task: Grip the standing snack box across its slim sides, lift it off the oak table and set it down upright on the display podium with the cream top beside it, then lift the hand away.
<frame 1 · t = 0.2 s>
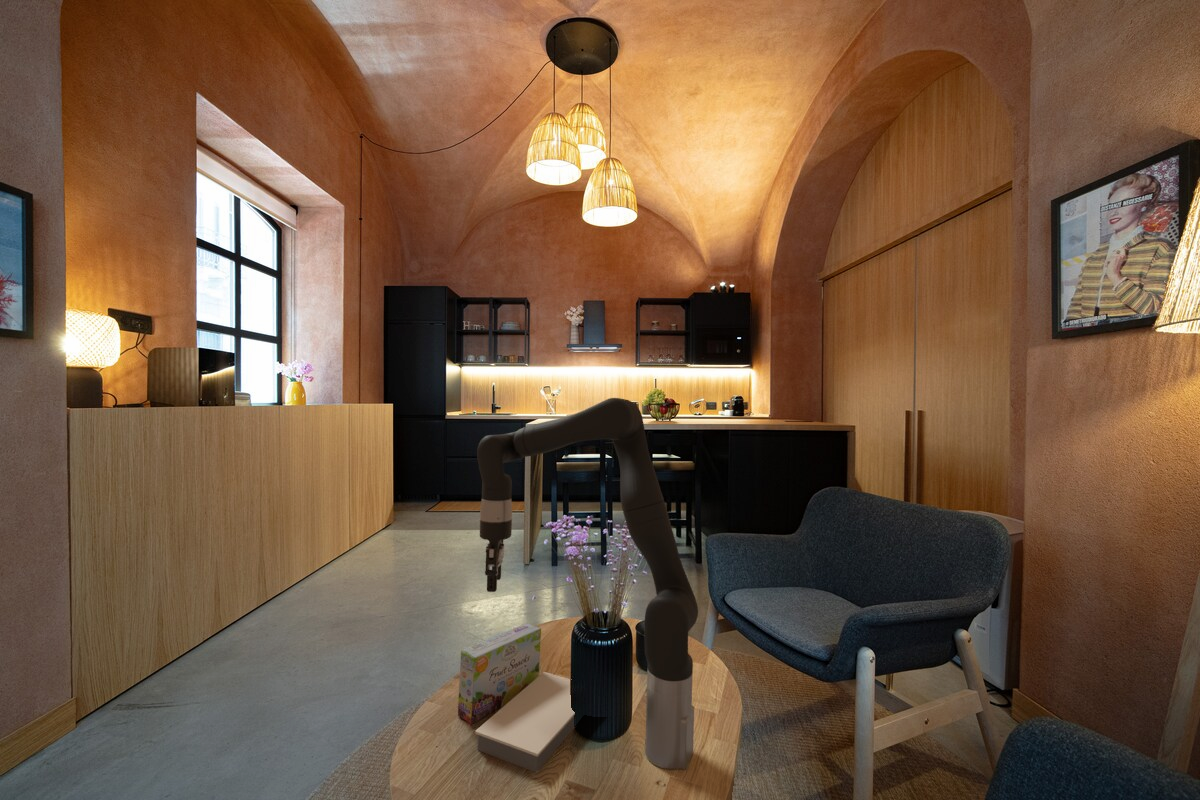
hand: (494, 585, 125), 27 cm above the table, tool pointing down, fingers open, 8 cm apart
display podium: (540, 725, 115), on the table
snack box: (500, 701, 124), on the table
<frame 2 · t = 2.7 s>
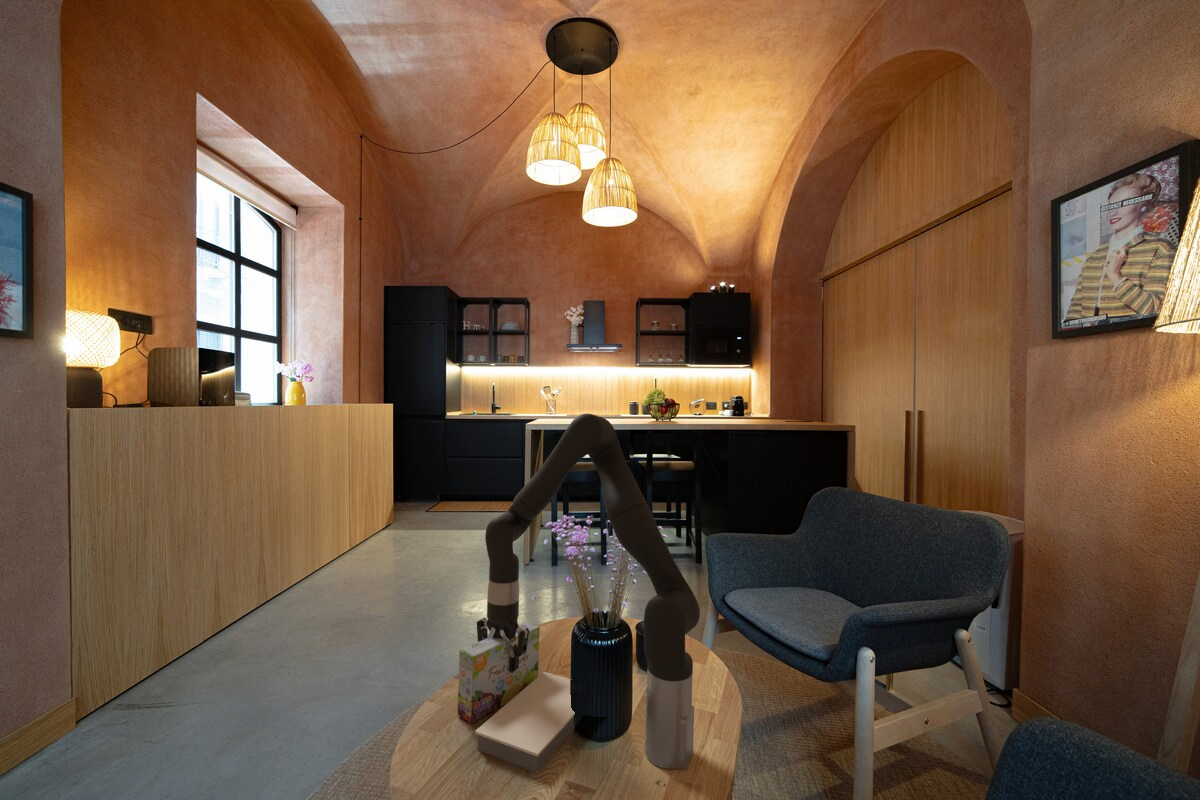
hand: (501, 667, 125), 8 cm above the table, tool pointing down, fingers closed on snack box, 6 cm apart
snack box: (500, 701, 124), on the table, touching gripper
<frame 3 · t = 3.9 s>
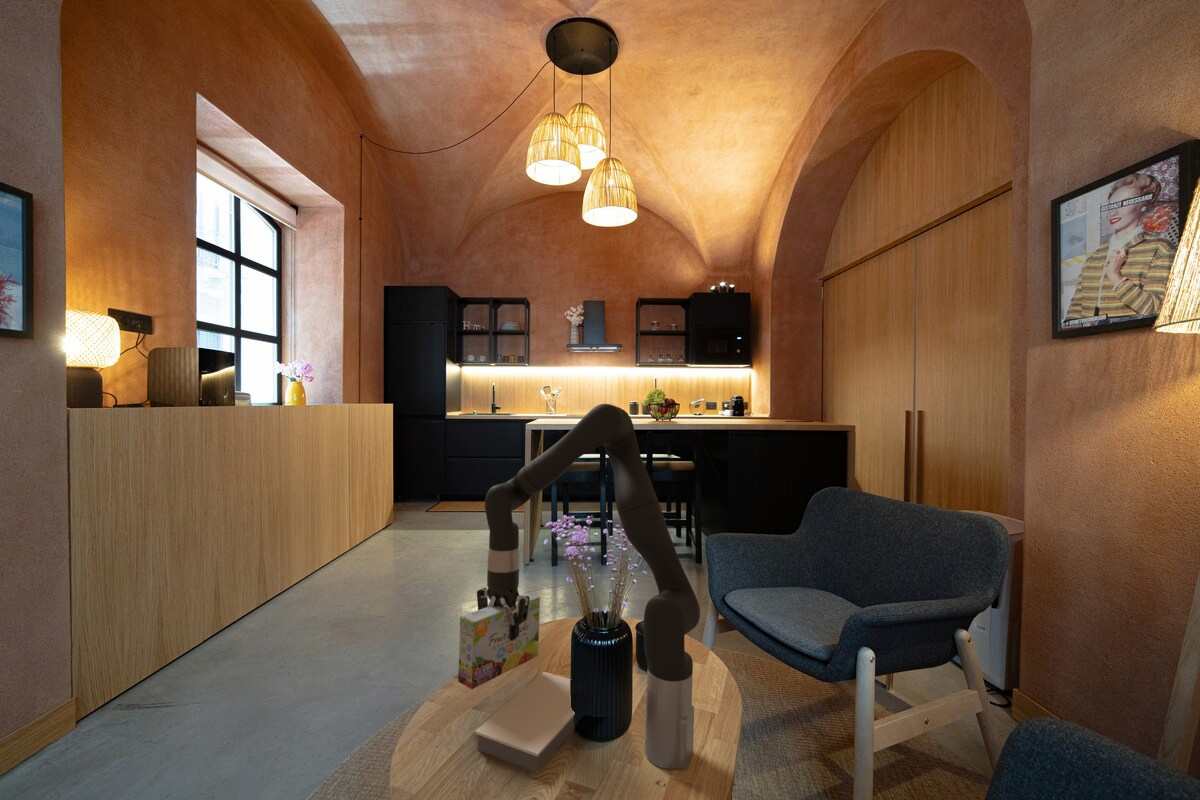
hand: (501, 636, 125), 15 cm above the table, tool pointing down, fingers closed on snack box, 6 cm apart
snack box: (501, 669, 124), point 7 cm above the table, touching gripper
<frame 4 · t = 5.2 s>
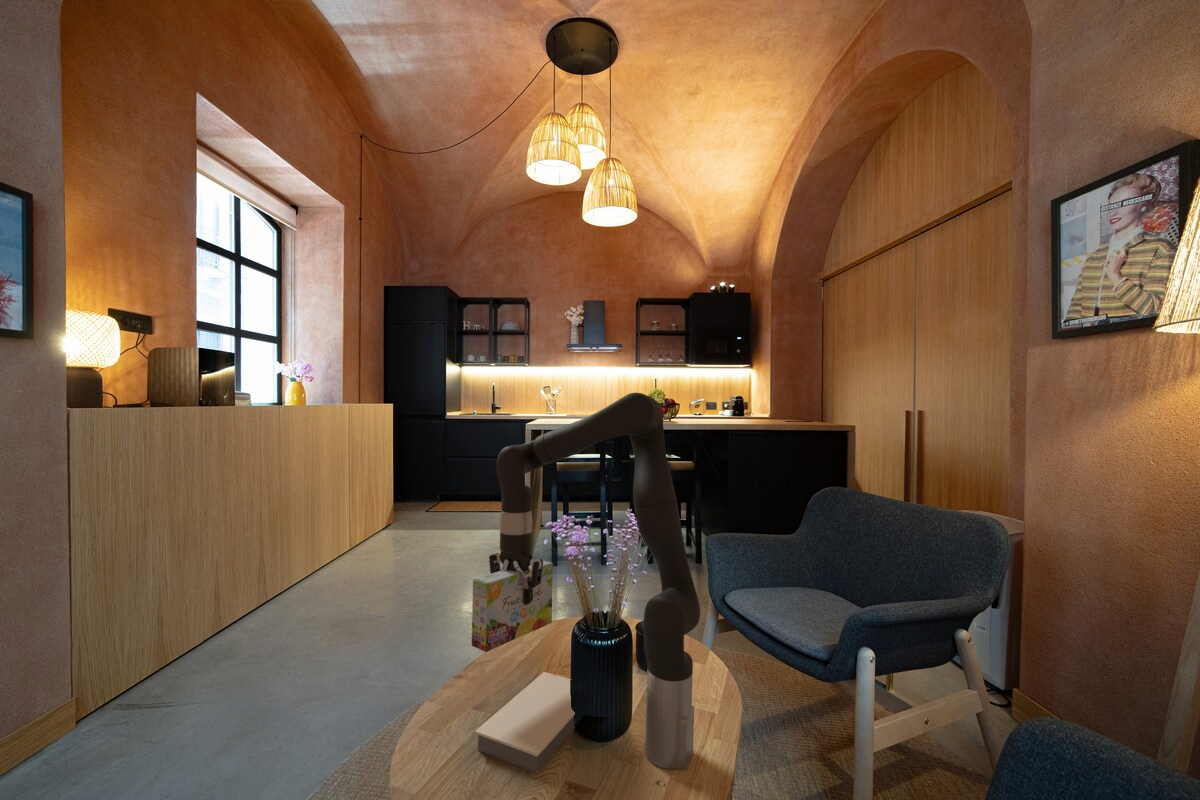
hand: (515, 601, 122), 25 cm above the table, tool pointing down, fingers closed on snack box, 6 cm apart
snack box: (514, 635, 122), point 17 cm above the table, touching gripper
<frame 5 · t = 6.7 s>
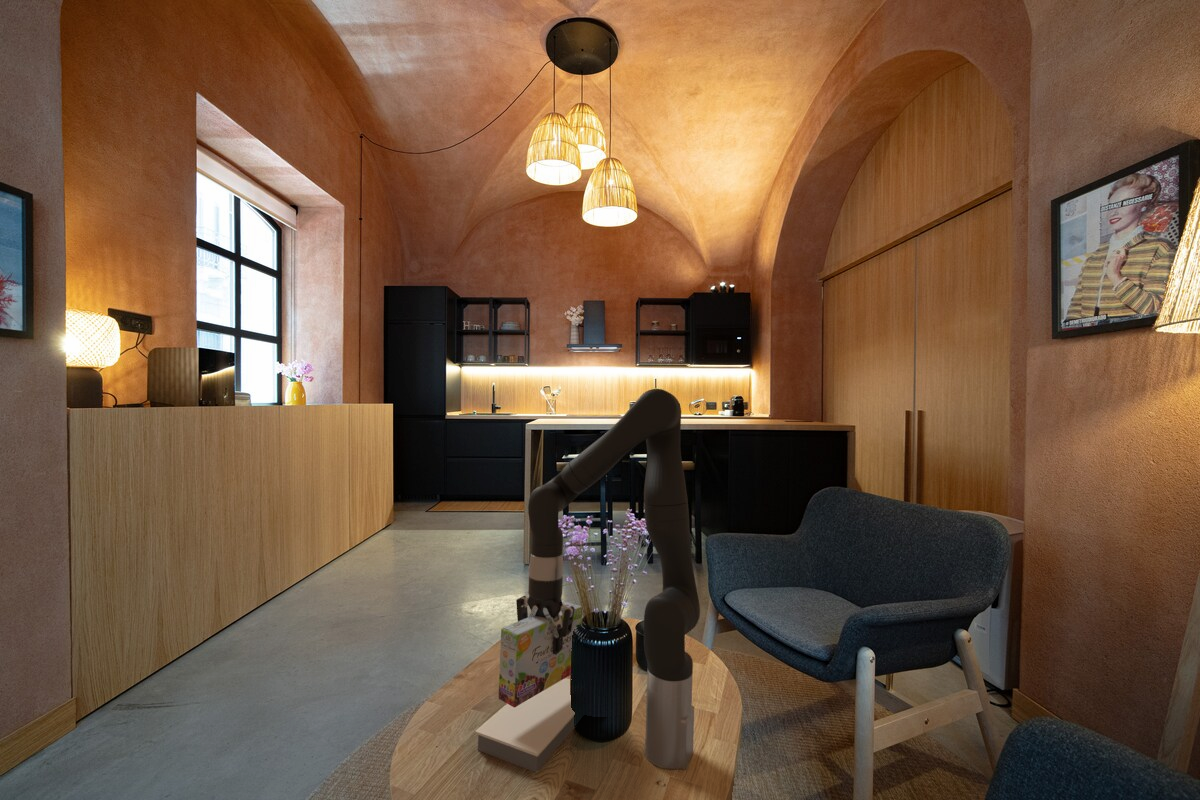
hand: (543, 649, 115), 17 cm above the table, tool pointing down, fingers closed on snack box, 6 cm apart
snack box: (542, 685, 115), point 9 cm above the table, touching gripper
when the fingers open (13 cm above the table, at t = 8.0 s): snack box drops 1 cm, resting on display podium.
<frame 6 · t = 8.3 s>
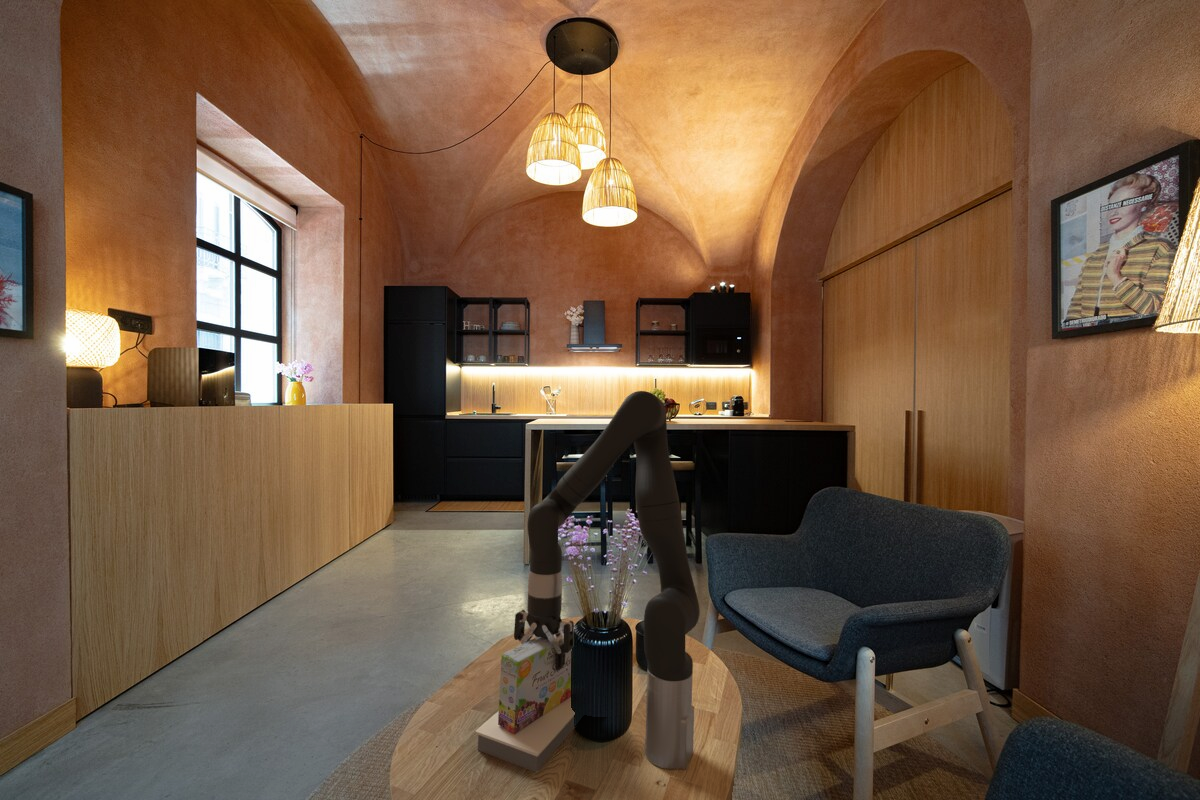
hand: (542, 664, 115), 14 cm above the table, tool pointing down, fingers open, 8 cm apart
snack box: (541, 708, 115), point 4 cm above the table, touching display podium
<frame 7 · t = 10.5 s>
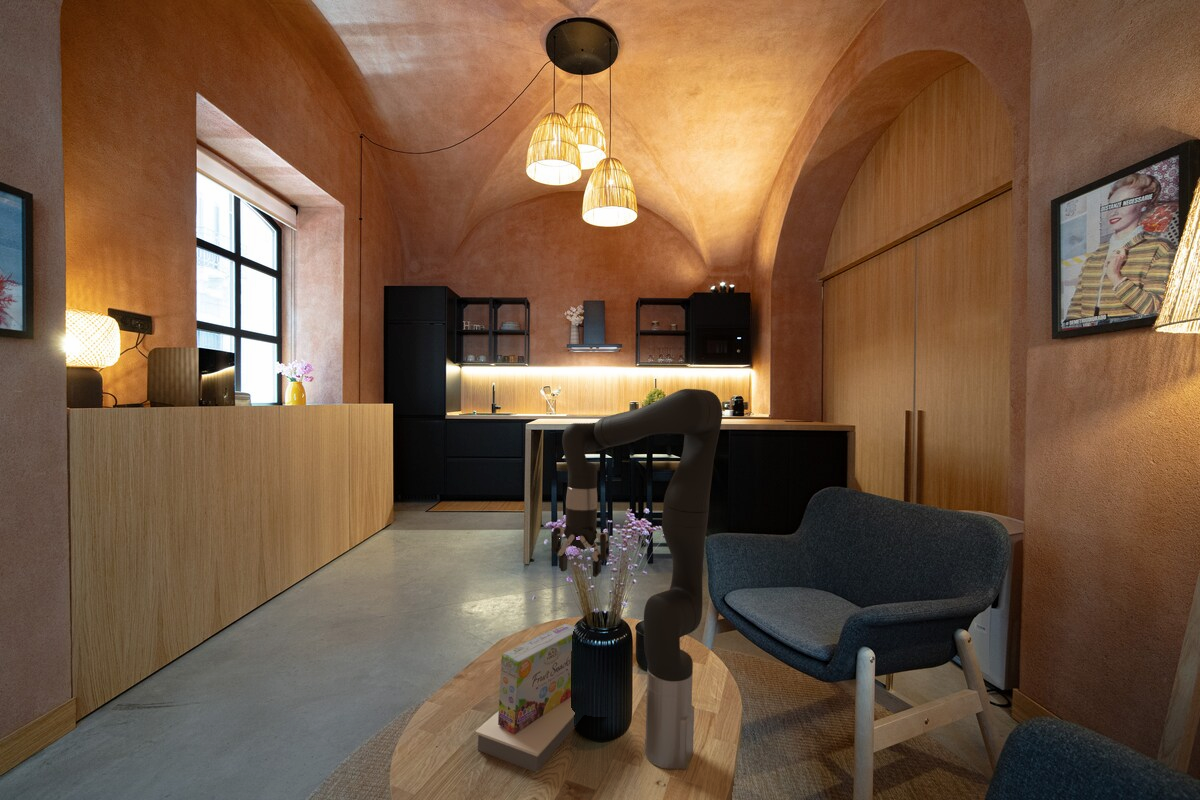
hand: (579, 573, 125), 31 cm above the table, tool pointing down, fingers open, 8 cm apart
nothing on the table moved.
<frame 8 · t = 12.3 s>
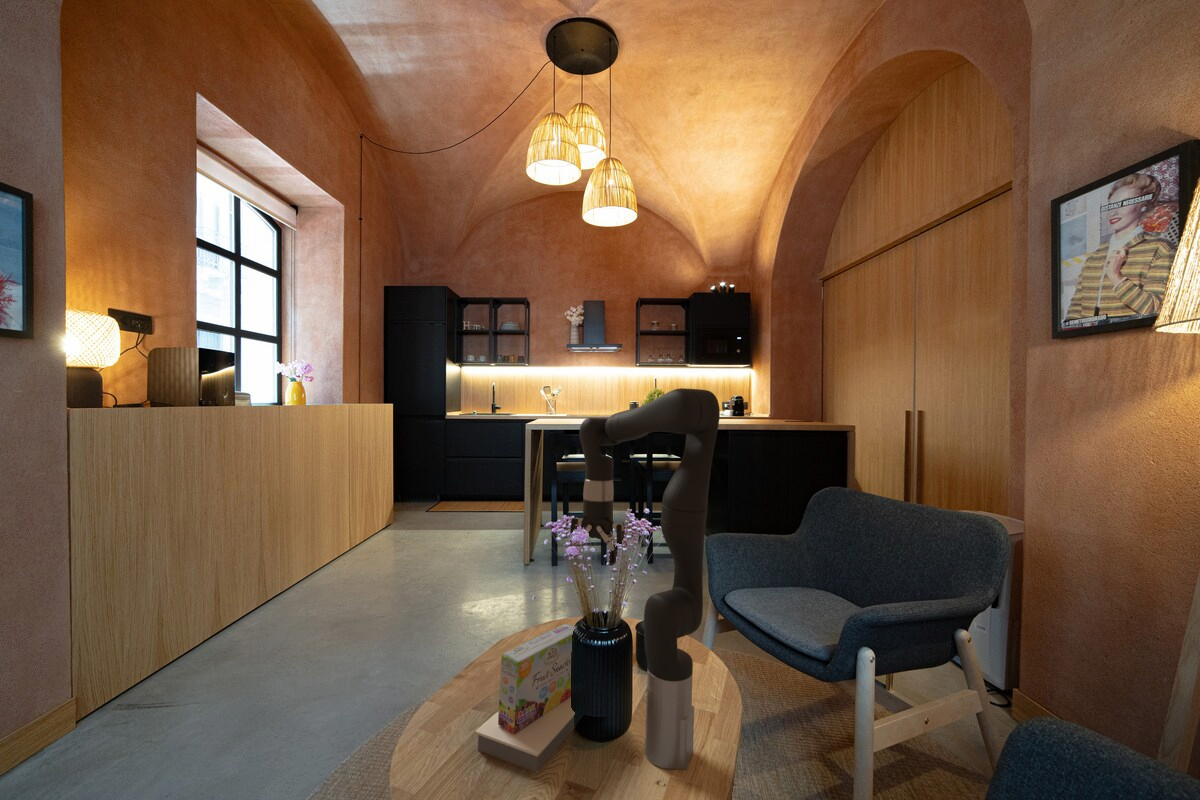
hand: (596, 562, 130), 32 cm above the table, tool pointing down, fingers open, 8 cm apart
nothing on the table moved.
at the end: snack box inside the target area on the display podium (0.3 cm from its centre), point 3.8 cm above the display podium's base; snack box tilted 0°; the gripper is holding nothing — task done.
